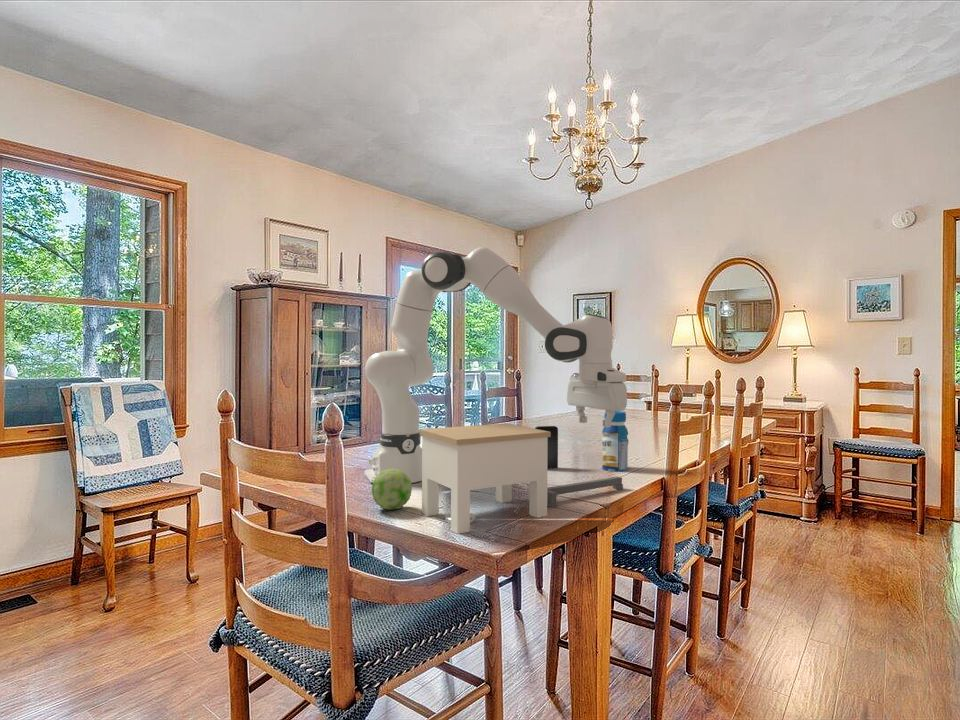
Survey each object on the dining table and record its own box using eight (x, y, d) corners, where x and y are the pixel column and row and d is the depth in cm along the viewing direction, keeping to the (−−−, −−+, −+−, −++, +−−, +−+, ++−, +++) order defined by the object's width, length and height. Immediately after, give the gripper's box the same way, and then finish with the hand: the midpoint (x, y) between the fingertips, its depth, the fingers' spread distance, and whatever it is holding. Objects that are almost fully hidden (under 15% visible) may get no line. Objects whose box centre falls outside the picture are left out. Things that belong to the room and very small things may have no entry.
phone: (556, 471, 183) (556, 425, 183) (557, 471, 182) (558, 426, 182) (533, 472, 181) (534, 426, 181) (535, 473, 180) (535, 426, 180)
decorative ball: (420, 508, 138) (420, 468, 138) (389, 517, 130) (389, 475, 130) (393, 501, 144) (393, 463, 144) (362, 509, 137) (362, 469, 137)
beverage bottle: (631, 476, 176) (631, 413, 175) (604, 476, 176) (604, 413, 175) (624, 470, 184) (624, 410, 184) (599, 470, 184) (599, 410, 184)
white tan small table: (419, 512, 134) (419, 429, 134) (505, 499, 147) (506, 423, 147) (456, 534, 118) (456, 439, 118) (550, 517, 131) (550, 431, 130)
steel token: (439, 520, 130) (439, 515, 130) (464, 515, 133) (464, 510, 133) (455, 527, 124) (455, 522, 124) (481, 522, 128) (481, 517, 128)
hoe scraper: (551, 510, 137) (551, 493, 137) (529, 502, 145) (529, 485, 145) (631, 496, 151) (631, 480, 151) (608, 489, 159) (608, 474, 159)
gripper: (561, 372, 158) (561, 421, 159) (613, 375, 141) (612, 430, 141) (578, 372, 162) (578, 419, 162) (631, 375, 144) (630, 428, 144)
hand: (594, 424), depth 151 cm, fingers open, 8 cm apart
